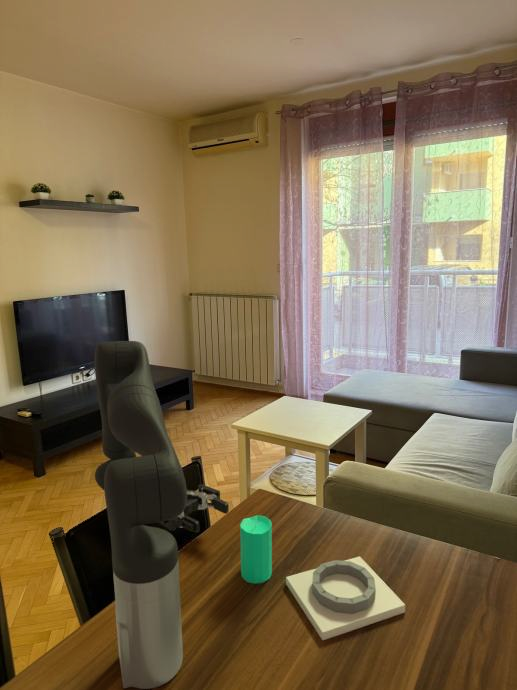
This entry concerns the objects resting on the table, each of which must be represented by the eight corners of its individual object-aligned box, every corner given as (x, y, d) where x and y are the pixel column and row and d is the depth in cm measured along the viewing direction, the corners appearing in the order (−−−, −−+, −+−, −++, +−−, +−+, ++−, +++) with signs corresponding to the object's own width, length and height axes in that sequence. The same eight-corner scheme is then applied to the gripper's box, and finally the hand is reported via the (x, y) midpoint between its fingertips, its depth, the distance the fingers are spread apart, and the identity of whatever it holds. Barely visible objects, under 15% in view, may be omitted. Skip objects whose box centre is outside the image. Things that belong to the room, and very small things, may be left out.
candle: (272, 563, 95) (272, 508, 93) (270, 584, 89) (270, 526, 87) (243, 561, 96) (242, 507, 93) (238, 582, 90) (237, 525, 87)
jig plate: (322, 640, 77) (322, 621, 76) (286, 584, 89) (286, 567, 89) (404, 612, 82) (405, 594, 82) (359, 563, 95) (360, 547, 94)
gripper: (134, 490, 102) (187, 517, 92) (184, 465, 112) (236, 487, 103) (136, 522, 103) (188, 551, 93) (185, 494, 114) (236, 518, 104)
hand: (213, 518), depth 98 cm, fingers open, 8 cm apart
